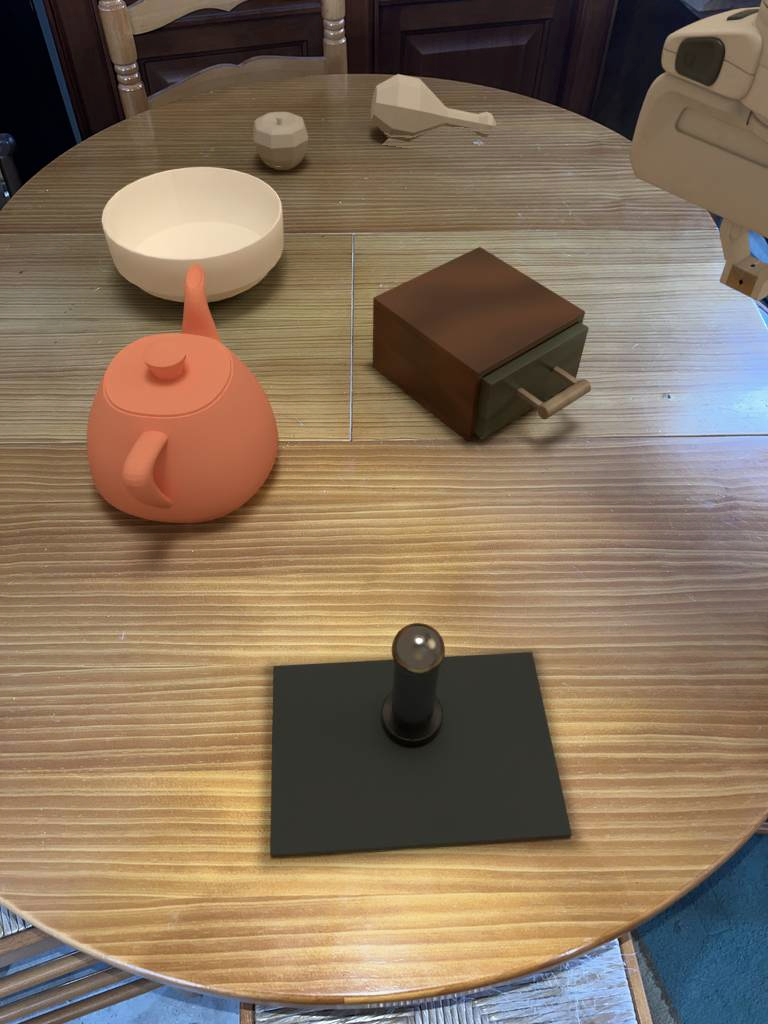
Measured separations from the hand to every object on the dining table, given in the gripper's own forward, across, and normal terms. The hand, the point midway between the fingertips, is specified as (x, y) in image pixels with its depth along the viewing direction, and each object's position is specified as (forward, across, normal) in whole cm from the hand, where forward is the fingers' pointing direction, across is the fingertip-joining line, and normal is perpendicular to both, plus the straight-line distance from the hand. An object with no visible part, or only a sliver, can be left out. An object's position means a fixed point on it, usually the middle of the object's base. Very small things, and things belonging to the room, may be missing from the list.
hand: (744, 289), depth 54 cm
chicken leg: (+23, +68, -35) cm, 80 cm away
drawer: (+23, +21, -2) cm, 31 cm away
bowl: (+23, +58, +11) cm, 63 cm away
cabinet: (+24, +25, -2) cm, 35 cm away
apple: (+23, +74, -12) cm, 79 cm away
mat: (+24, -2, +31) cm, 39 cm away
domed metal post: (+24, -1, +29) cm, 38 cm away
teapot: (+24, +33, +28) cm, 49 cm away
